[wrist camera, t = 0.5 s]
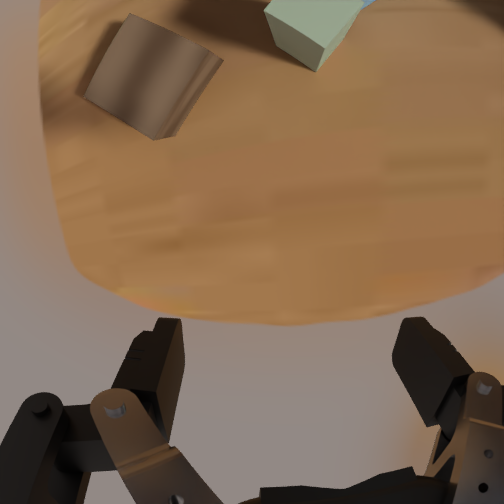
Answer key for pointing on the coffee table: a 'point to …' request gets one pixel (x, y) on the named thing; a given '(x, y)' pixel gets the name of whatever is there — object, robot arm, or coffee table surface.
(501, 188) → the coffee table surface
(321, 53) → the sage block
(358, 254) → the coffee table surface
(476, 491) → the robot arm
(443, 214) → the coffee table surface
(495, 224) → the coffee table surface
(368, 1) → the gum box
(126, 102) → the walnut base block
